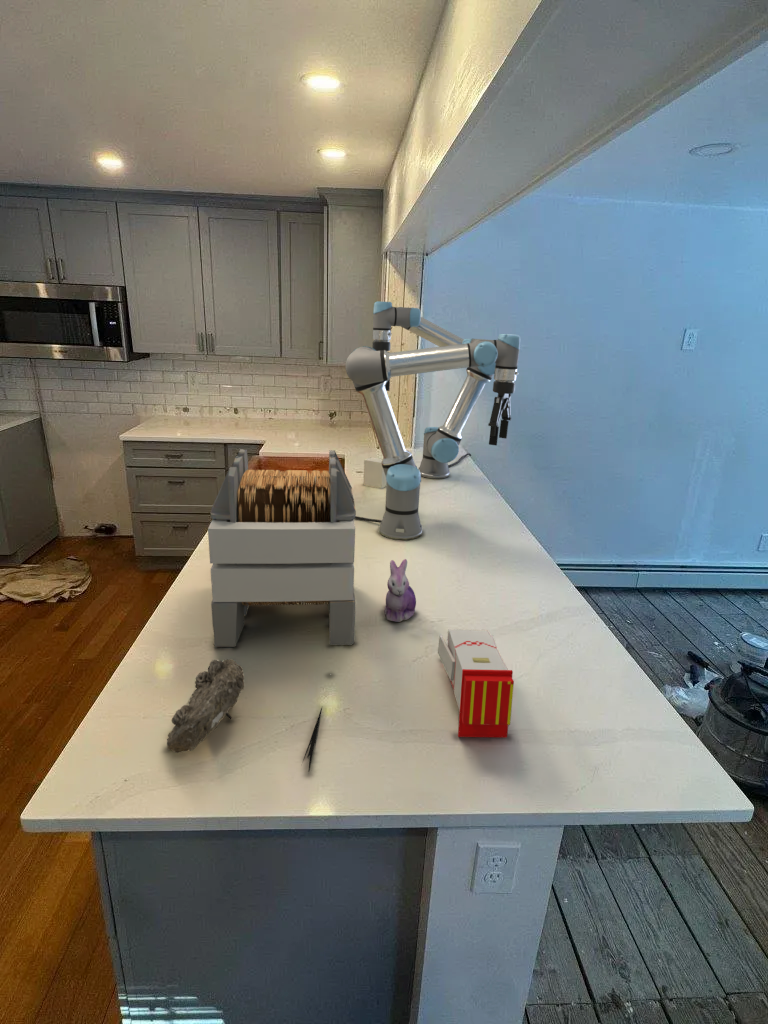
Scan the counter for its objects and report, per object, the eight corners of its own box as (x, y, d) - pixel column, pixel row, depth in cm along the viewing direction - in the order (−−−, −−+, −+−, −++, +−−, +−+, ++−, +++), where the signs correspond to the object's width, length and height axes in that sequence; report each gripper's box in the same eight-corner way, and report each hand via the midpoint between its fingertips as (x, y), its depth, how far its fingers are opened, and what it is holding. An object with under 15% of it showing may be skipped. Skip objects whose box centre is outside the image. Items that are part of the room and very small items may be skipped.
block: (363, 485, 253) (364, 459, 249) (369, 481, 258) (370, 457, 254) (381, 488, 249) (382, 462, 245) (387, 485, 254) (388, 460, 250)
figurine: (392, 627, 141) (395, 572, 136) (374, 608, 149) (376, 556, 144) (425, 619, 145) (429, 566, 140) (405, 601, 154) (408, 550, 149)
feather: (331, 679, 122) (336, 673, 122) (307, 777, 96) (313, 769, 95) (324, 675, 122) (329, 669, 121) (298, 772, 95) (304, 764, 95)
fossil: (192, 660, 117) (244, 628, 112) (224, 691, 120) (276, 661, 115) (142, 746, 98) (202, 712, 93) (182, 779, 101) (242, 748, 96)
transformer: (232, 581, 160) (225, 440, 147) (348, 580, 164) (351, 442, 150) (211, 649, 129) (199, 477, 115) (355, 646, 132) (360, 479, 119)
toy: (488, 613, 130) (523, 677, 101) (484, 667, 133) (517, 744, 104) (435, 612, 130) (455, 676, 101) (432, 666, 133) (451, 743, 103)
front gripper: (506, 385, 184) (499, 449, 191) (523, 378, 205) (516, 436, 212) (484, 383, 187) (477, 446, 194) (503, 376, 208) (496, 434, 215)
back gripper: (377, 342, 224) (375, 396, 231) (401, 340, 246) (399, 389, 253) (360, 341, 227) (359, 395, 234) (385, 339, 248) (383, 388, 256)
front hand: (497, 441), depth 203 cm, fingers open, 13 cm apart
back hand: (379, 392), depth 243 cm, fingers open, 13 cm apart
